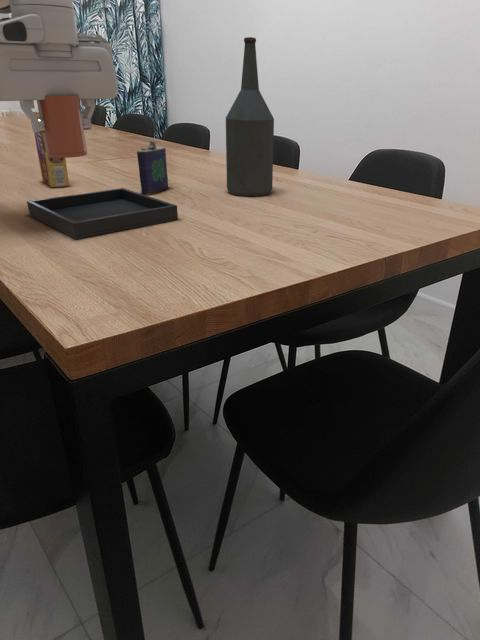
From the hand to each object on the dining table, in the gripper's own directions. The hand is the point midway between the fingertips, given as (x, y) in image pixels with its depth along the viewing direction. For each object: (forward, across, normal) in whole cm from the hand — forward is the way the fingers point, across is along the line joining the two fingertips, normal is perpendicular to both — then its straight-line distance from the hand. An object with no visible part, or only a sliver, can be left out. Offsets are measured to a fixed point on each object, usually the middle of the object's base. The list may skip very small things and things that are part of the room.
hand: (63, 131), depth 82 cm
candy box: (+15, -11, -35) cm, 40 cm away
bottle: (+15, -41, 0) cm, 44 cm away
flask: (+15, -25, -14) cm, 32 cm away
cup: (+4, 0, 0) cm, 4 cm away
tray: (+15, -5, 0) cm, 16 cm away
